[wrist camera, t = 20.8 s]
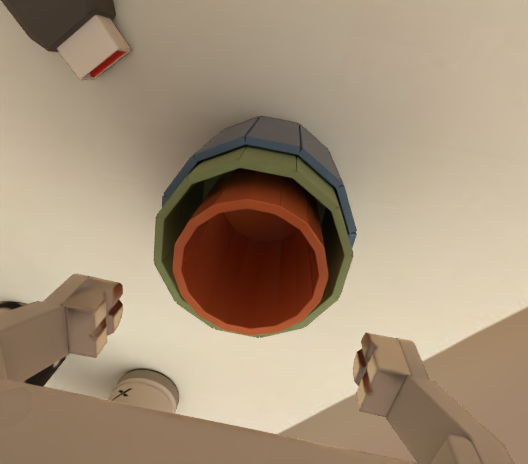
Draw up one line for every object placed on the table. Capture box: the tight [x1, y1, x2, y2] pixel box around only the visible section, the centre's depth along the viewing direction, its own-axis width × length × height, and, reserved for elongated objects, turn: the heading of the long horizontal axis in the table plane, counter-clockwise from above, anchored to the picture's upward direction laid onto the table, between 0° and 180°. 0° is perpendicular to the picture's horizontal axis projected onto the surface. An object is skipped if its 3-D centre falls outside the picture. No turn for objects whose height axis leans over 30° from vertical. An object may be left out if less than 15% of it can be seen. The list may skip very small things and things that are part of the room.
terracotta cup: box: [172, 168, 329, 335], centre depth 19 cm, size 6×6×10 cm
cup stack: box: [154, 116, 357, 338], centre depth 21 cm, size 10×10×10 cm
